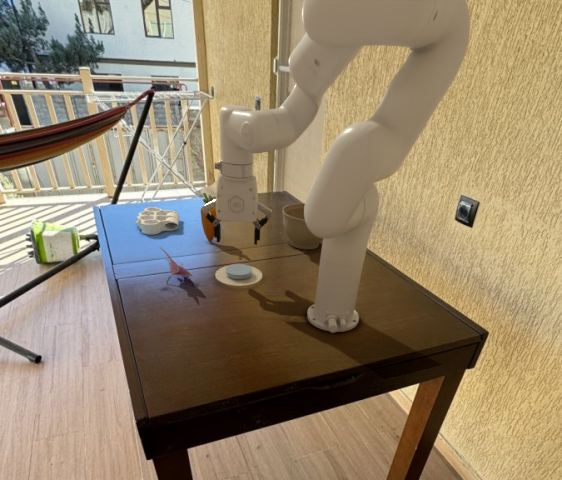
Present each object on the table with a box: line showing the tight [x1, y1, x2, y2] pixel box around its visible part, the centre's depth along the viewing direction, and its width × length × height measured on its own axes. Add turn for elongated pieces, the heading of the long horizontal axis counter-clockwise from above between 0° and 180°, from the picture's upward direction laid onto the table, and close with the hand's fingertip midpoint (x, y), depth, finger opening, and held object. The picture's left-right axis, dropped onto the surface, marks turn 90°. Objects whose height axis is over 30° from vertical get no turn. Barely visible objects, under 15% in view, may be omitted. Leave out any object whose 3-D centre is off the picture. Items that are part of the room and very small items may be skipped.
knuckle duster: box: [133, 206, 180, 236], centre depth 135 cm, size 3×18×15 cm
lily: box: [159, 246, 194, 285], centre depth 102 cm, size 12×12×10 cm
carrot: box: [200, 192, 216, 243], centre depth 123 cm, size 5×5×15 cm
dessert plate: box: [214, 265, 263, 287], centre depth 108 cm, size 13×13×1 cm
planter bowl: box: [282, 202, 323, 251], centre depth 127 cm, size 16×16×11 cm
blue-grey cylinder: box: [226, 263, 252, 279], centre depth 108 cm, size 7×7×2 cm
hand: (237, 241), depth 102 cm, fingers open, 9 cm apart
